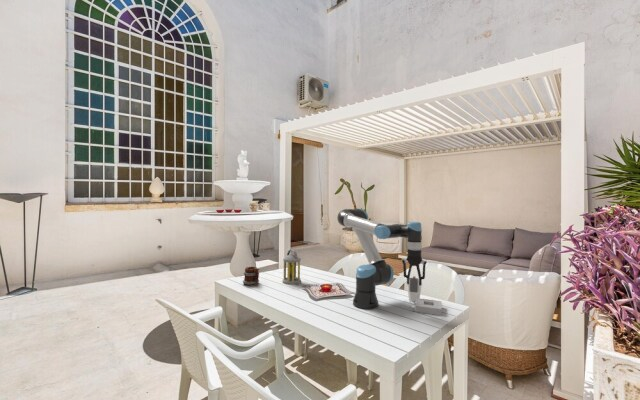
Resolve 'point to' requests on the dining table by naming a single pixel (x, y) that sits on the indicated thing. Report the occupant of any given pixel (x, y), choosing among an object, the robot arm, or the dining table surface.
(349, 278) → the dining table surface
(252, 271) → the mug
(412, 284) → the plug
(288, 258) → the lantern
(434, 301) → the socket plate
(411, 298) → the foam cup
